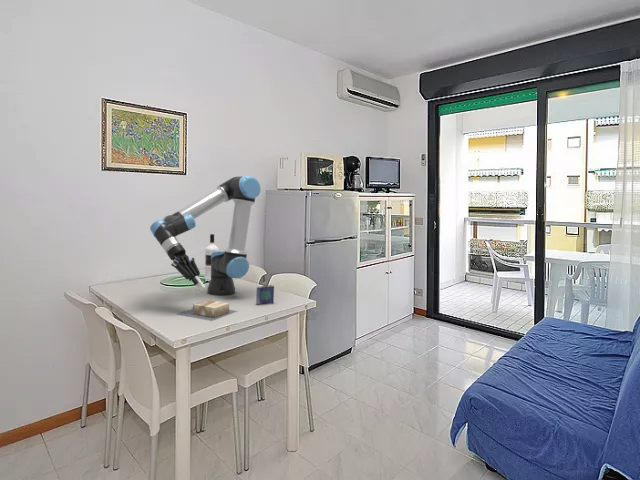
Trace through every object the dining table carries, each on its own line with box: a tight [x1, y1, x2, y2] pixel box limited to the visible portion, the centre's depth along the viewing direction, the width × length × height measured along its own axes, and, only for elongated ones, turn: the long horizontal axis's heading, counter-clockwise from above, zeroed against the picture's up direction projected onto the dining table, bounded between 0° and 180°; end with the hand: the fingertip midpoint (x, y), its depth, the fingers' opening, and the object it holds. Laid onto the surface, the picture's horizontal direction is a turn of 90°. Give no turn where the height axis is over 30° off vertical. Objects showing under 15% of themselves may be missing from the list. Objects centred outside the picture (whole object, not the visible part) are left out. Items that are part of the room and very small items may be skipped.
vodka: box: [203, 233, 220, 279], centre depth 249 cm, size 9×9×30 cm
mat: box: [176, 308, 238, 322], centre depth 177 cm, size 20×18×1 cm
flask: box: [255, 282, 275, 306], centre depth 198 cm, size 9×3×11 cm, turn 121°
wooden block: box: [192, 299, 230, 318], centre depth 175 cm, size 4×10×12 cm
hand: (202, 289), depth 176 cm, fingers closed
